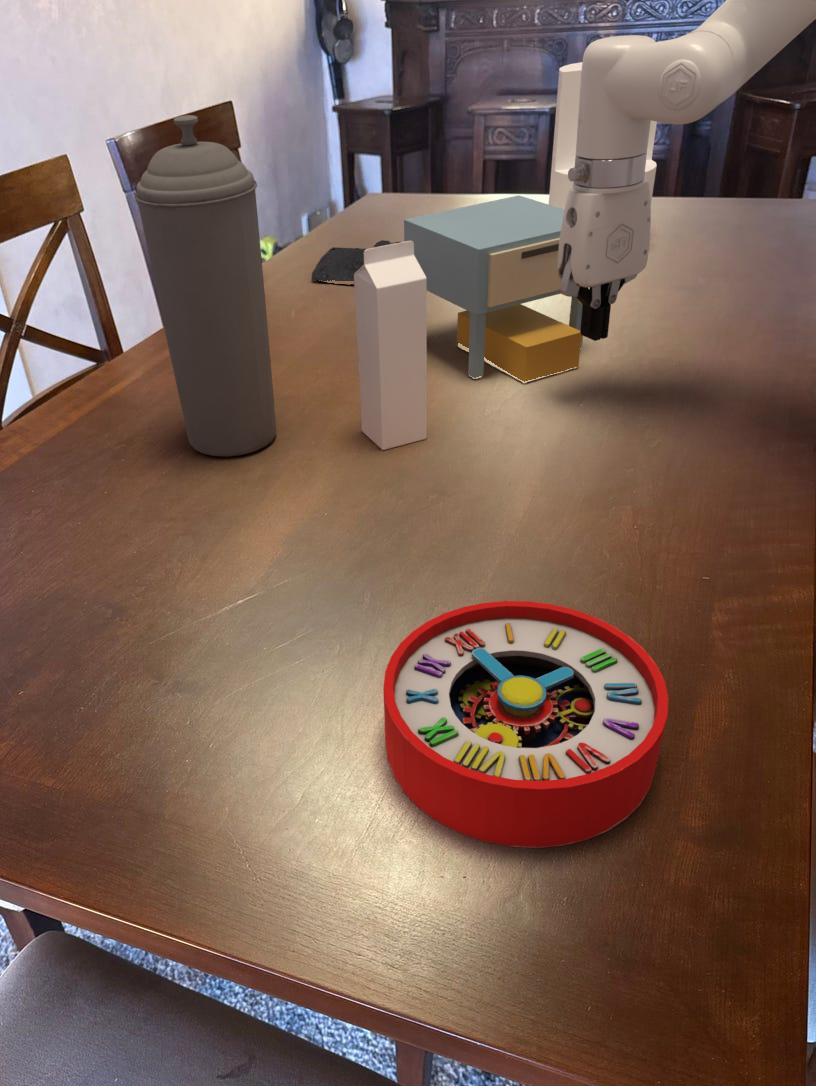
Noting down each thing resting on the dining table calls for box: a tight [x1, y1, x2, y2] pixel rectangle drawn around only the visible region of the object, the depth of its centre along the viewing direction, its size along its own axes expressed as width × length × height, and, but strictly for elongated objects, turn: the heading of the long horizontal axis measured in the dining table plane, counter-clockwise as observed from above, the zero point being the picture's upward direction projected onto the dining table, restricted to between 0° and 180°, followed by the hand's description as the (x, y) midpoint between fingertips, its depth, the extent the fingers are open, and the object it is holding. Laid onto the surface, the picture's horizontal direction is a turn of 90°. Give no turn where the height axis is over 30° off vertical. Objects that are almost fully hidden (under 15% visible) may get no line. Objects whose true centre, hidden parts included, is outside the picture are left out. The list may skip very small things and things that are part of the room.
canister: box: [134, 114, 277, 458], centre depth 100 cm, size 13×13×35 cm
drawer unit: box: [403, 195, 584, 378], centre depth 123 cm, size 19×19×17 cm
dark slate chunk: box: [311, 239, 402, 281], centre depth 157 cm, size 15×22×5 cm
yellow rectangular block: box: [456, 304, 582, 382], centre depth 123 cm, size 16×9×5 cm, turn 27°
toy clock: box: [382, 600, 669, 849], centre depth 66 cm, size 20×6×20 cm
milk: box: [354, 241, 428, 451], centre depth 102 cm, size 6×6×22 cm
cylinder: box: [548, 61, 658, 209], centre depth 151 cm, size 17×17×28 cm
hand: (593, 336), depth 110 cm, fingers closed
